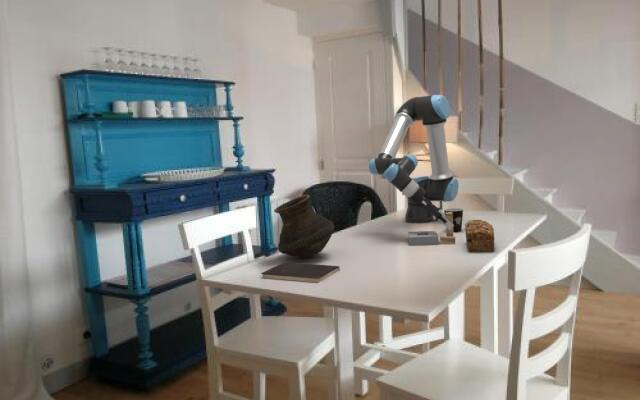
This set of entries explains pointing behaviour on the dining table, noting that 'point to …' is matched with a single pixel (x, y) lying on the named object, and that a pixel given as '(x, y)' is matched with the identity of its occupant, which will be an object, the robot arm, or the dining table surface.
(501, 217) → the dining table surface
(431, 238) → the socket block
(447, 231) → the long oak peg
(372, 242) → the dining table surface
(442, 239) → the short oak peg
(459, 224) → the coffee mug
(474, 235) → the bread
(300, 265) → the hardcover book
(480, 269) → the dining table surface
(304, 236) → the ceramic pot
